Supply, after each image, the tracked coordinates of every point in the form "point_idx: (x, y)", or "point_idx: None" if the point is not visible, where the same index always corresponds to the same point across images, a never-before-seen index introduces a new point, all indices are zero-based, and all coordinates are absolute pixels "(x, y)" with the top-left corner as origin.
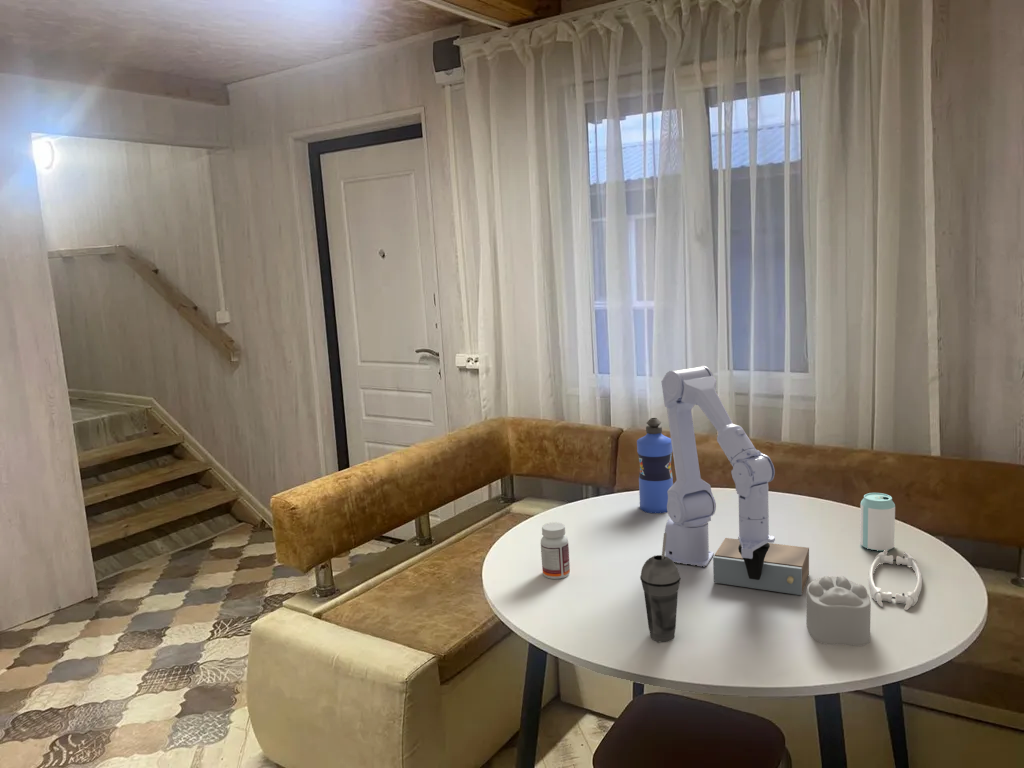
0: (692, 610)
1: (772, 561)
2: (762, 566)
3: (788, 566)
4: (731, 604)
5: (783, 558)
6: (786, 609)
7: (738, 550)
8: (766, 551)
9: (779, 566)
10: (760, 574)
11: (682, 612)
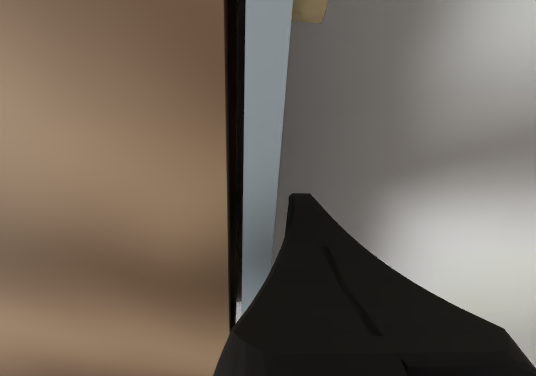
0: None
1: (208, 183)
2: (304, 230)
3: (266, 17)
4: (410, 232)
5: (82, 97)
6: (455, 4)
7: (116, 370)
8: (517, 365)
9: (283, 111)
10: (321, 207)
11: None
